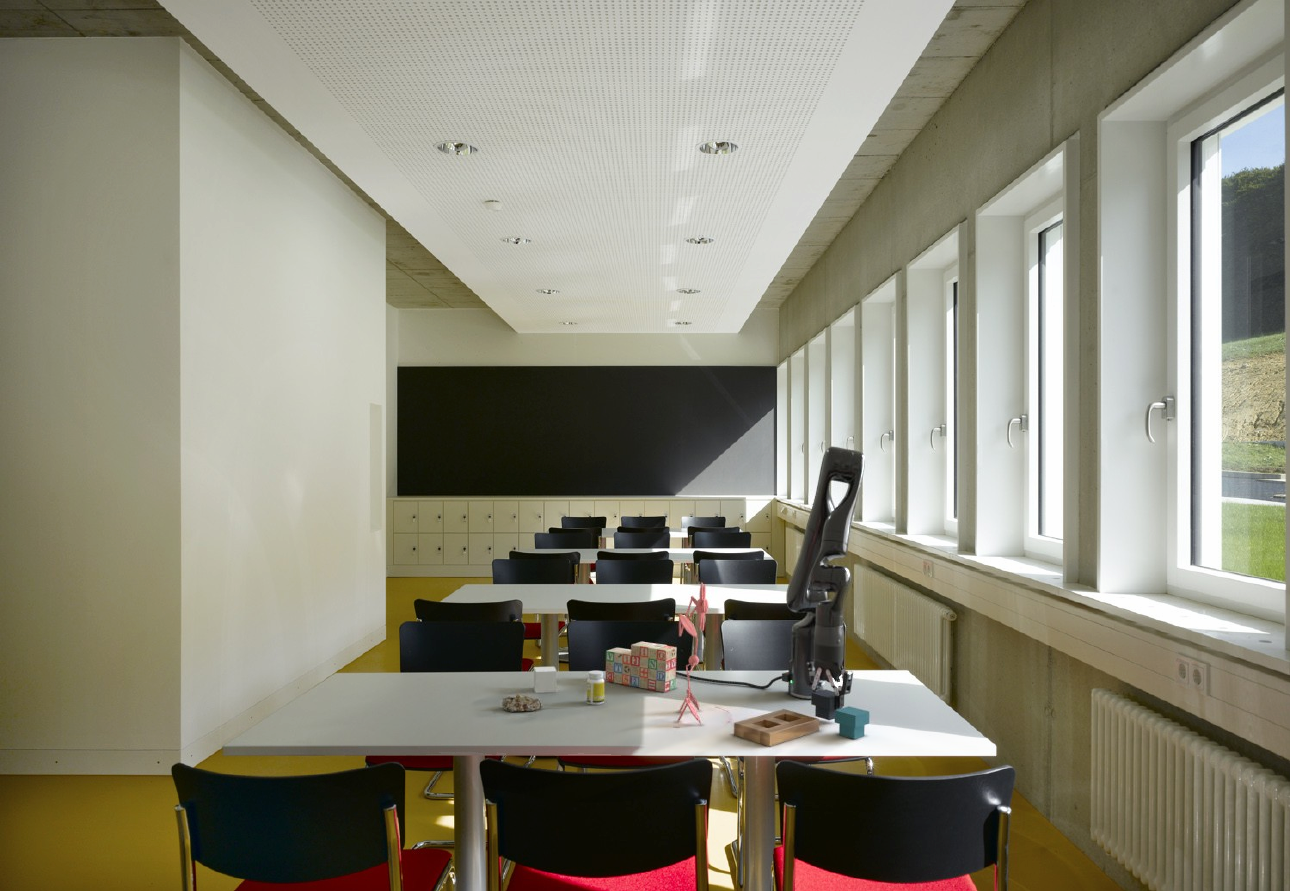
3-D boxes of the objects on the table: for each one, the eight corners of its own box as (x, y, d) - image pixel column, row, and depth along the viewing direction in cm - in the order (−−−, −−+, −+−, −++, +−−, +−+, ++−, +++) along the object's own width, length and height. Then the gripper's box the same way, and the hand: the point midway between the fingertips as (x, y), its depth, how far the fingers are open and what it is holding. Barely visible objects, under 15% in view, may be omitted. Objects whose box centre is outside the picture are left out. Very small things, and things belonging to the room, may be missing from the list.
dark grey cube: (810, 716, 224) (811, 692, 224) (825, 712, 228) (825, 689, 228) (829, 721, 220) (830, 698, 220) (843, 717, 224) (844, 694, 224)
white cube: (535, 693, 247) (535, 671, 247) (533, 687, 253) (534, 667, 253) (556, 692, 248) (556, 671, 248) (554, 686, 254) (554, 666, 254)
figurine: (672, 731, 213) (674, 589, 214) (677, 703, 239) (679, 576, 240) (734, 734, 212) (737, 591, 213) (733, 705, 237) (735, 578, 238)
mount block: (733, 735, 211) (734, 722, 211) (783, 720, 225) (783, 708, 225) (769, 746, 203) (769, 733, 203) (819, 730, 216) (819, 718, 216)
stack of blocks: (604, 681, 262) (605, 640, 262) (616, 677, 267) (617, 637, 267) (665, 692, 250) (666, 649, 250) (676, 688, 255) (676, 646, 256)
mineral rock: (498, 703, 226) (505, 687, 234) (498, 718, 228) (505, 702, 235) (538, 706, 226) (544, 690, 234) (538, 721, 227) (544, 705, 235)
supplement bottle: (607, 702, 239) (607, 671, 239) (599, 706, 235) (599, 675, 235) (591, 699, 241) (592, 669, 241) (583, 703, 237) (584, 672, 237)
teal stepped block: (834, 734, 213) (834, 710, 213) (848, 730, 217) (848, 706, 217) (855, 740, 209) (855, 715, 209) (869, 735, 213) (869, 711, 213)
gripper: (860, 645, 221) (859, 710, 221) (815, 635, 232) (814, 698, 232) (843, 648, 216) (841, 716, 216) (797, 638, 227) (796, 702, 227)
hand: (827, 706), depth 224 cm, fingers closed on dark grey cube, 6 cm apart
